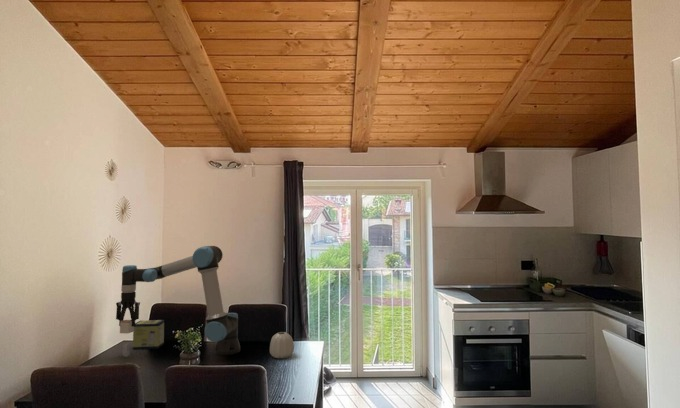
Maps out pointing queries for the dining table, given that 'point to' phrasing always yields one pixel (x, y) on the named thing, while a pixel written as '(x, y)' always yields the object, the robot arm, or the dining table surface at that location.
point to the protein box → (148, 334)
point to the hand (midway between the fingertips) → (126, 331)
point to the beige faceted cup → (125, 326)
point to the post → (126, 350)
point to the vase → (281, 345)
